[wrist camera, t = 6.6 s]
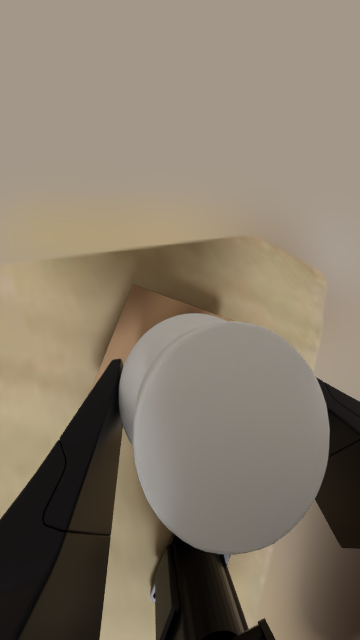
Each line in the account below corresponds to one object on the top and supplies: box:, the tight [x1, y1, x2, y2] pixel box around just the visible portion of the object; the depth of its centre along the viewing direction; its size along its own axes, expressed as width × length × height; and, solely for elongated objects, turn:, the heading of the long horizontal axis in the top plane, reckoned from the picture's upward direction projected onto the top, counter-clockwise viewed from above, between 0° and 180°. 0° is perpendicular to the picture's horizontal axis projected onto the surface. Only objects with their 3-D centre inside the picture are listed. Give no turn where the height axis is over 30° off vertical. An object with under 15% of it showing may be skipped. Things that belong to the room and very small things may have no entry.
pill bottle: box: [118, 313, 330, 555], centre depth 9 cm, size 6×6×12 cm
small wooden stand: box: [91, 285, 236, 390], centre depth 17 cm, size 12×12×4 cm
